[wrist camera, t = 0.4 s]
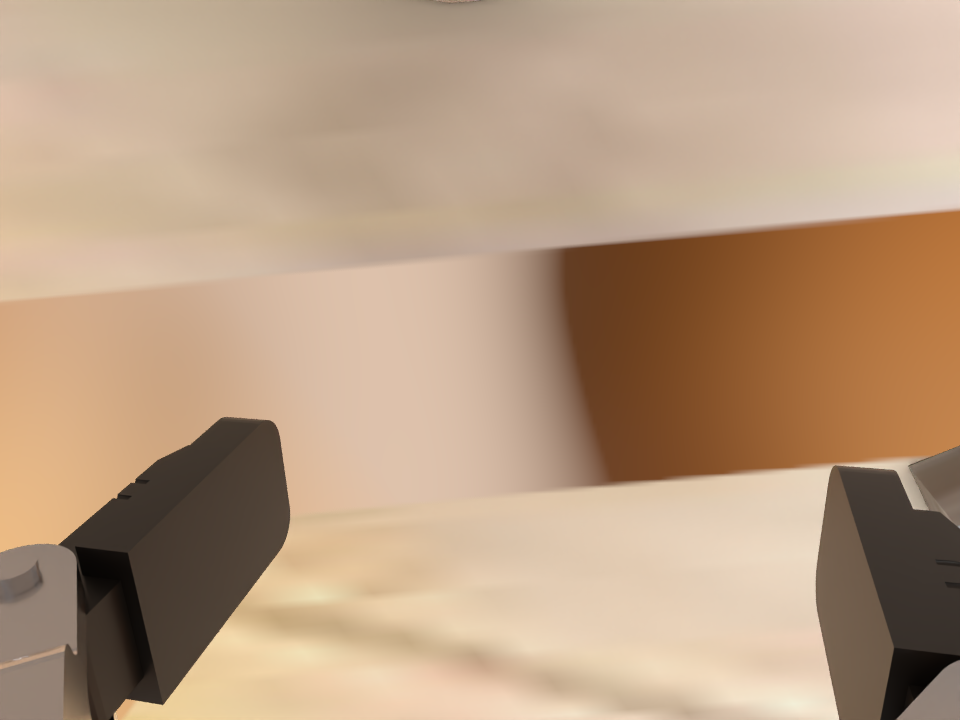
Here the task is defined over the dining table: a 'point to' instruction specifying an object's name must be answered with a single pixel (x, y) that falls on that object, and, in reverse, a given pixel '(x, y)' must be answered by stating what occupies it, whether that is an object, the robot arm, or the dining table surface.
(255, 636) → the dining table surface
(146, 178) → the dining table surface
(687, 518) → the dining table surface
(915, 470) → the rail
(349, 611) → the dining table surface
